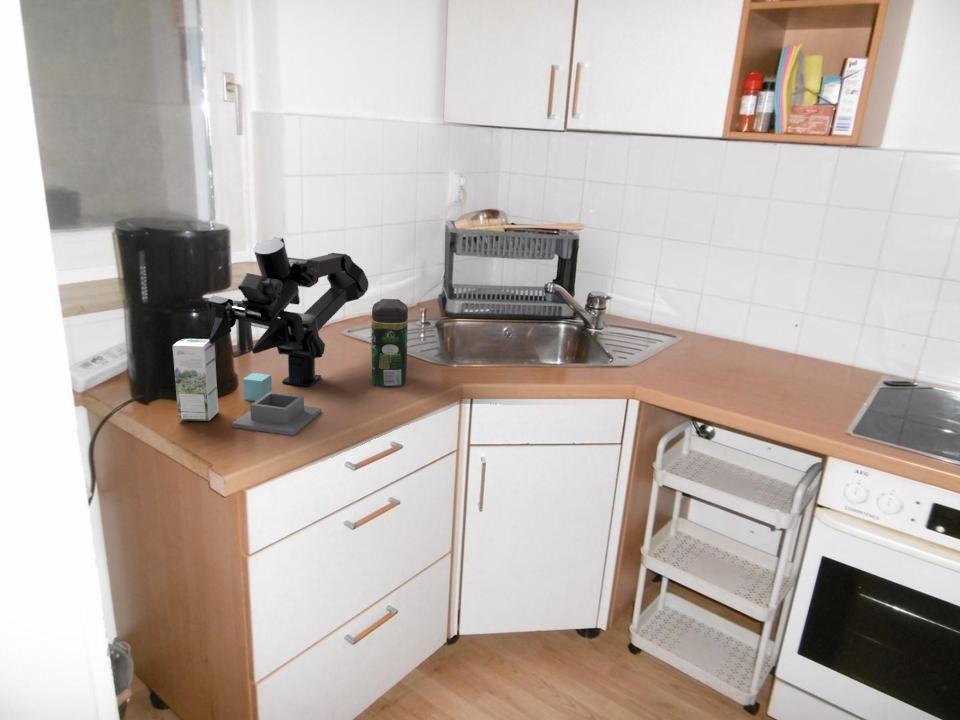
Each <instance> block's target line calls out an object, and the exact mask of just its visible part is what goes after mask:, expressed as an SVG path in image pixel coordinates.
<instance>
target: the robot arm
mask: <svg viewBox="0 0 960 720" xmlns="http://www.w3.org/2000/svg"><path fill="white" fill-rule="evenodd" d="M253 252H254V256H255V258H256V262H257V265H258V268H259V272H260V274H261V275H259V274H254V273H250V272H245V273H244V275H243V277H242V279H241V281H240V283H239V284H238V286H237V289H238V291H240V292H241V293H242V295H243V298H242V299H241V302H242V305H243V306H245V308H243V307H238V306H235V305H234V302H233V299H231V298H227V297H223V296H218V295H212V296H210V297H209V298H208V300H207V301H206V302H205V303H206V307H207V310H208V314H209V313H211V315H212V316H213V317H214V320H215V322H214V325H213V326H212V329H211V333H210V335H209V338H208V339H209V341H210V343H211V344H213V343H214V344H215V343H217V342H219V341H220V340H221V339H223V338H224V337H226V336H227V335H229V334H230V333H231V332H232V329H233V327H234V326H235V325H236V323H237V321H243V322H247V323H249V326H250V327H256V328H259V329H265V330H266V331H265V332H264V333H263V334H262V335H261V336H260V338H259V339H258V340H257V341H256V343H255V344H254V345H253V347H252V348H251V351H252V354H254V355H255V354H259V353H261V352H265V351H267V350H270V349H274V348H276V349H277V351H278V354H279V355H285V356H287V369H288V374H287V375H288V376H287V377H286V378H284V379H282V381H281V383H282V384H286V385H287V384H288V385H294V386H302V387H312V385H314V384H315V383H316V382H318V381H319V380H320V379H321V378H322V375H320V374H316V359H317V358H322V357H323V355H324V353H325V347H326V344H325V342H324V341H323V340H322V338H321V337H320V333H319V332H320V330H321V329H322V328H323V327H324V325H326V323H328V322H329V321H330V320H331V319H332V318H333V317H334V316H335V314H337V313H338V312H339V310H340V309H341V308H342V307H343V306H344V305H345V304H346V303H348V302H352V301H353V302H354V301H358V300H359V299H360V298H362V297H363V296H364V295H365V294H366V293H367V291H369V290H368V289H369V279H368V277H367V275H366V273H365V271H364V270H363V269H362V268H361V267H360V266H359V265H358V264H356V263H355V262H354V261H353V259H352V257H351V256H350V255H348V254H347V253H339V252H338V253H337V252H331V253H328V254H325V255H320V256H316V257H311V258H306V259H304V258H295V257H288V253H287V250H286V244H285V240H284V238H283V237H276V236H275V237H273V238H272V239H268V240H264V241H261V242H257V243H255V245H254V246H253ZM326 276H327V277H326ZM323 277H326V278H327V281H328V282H329V284H330V287H329V289H328V290H327V291H325V293H324V294H322V295H321V296H320V297H319V298H318V299H317V300H316V301H315V302H314V303H313V304H312V305H311V306H309V308H308V309H307V310H306V311H304V313H303V312H302V313H301V312H294V311H288V310H285V309H286V308H287V307H288V306H289V305H290V304H292V305H297V306H298V305H300V303H301V301H300V300H301V299H300V296H299V295H300V294H299V292H300V290H299V287H301V288H312V287H313V286H315V285H316V284H317V283H318V282H319V279H321V278H323Z"/></svg>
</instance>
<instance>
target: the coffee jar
mask: <svg viewBox="0 0 960 720" xmlns="http://www.w3.org/2000/svg"><path fill="white" fill-rule="evenodd" d="M371 309H372V311H371V335H370V336H371V339H370V340H371V347H370V348H371V382H372V384H373V385H374V386H376V387H382V388H385V389H394V388H397V387H403V386H405V384H406V382H407V376H408V371H407V369H408V361H407V359H408V325H409V324H408V322H409V321H408V318H409V315H408V313H409V308H408V306H407V304H406V303H404V301H401V300H400V299H398V298H381V299H380V300H379V301H376V302H375V303H374V304H373V305H372V308H371Z"/></svg>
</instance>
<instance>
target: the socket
mask: <svg viewBox="0 0 960 720" xmlns="http://www.w3.org/2000/svg"><path fill="white" fill-rule="evenodd" d="M249 407H250V410H249V411H247V412H246V413H245V414H243V415H242V416H241V417H239V418H237V419H235V420H234V421H233V422H232V424H231V425H232V428H236V429H244V430H249V431H250V430H251V431H258V432H264V433H265V432H266V433H272V434H277V435H287V436H292V435H293V436H295V435H296V434H298V433H299V432H300V431H301V430H302V429H303V428H304V427H305V426H306V425H308V424H309V423H310V422H311V421H312V420H313V419H314V418H316V417H317V416H318V415H319V414H320V413H321V412H322V407H316V406H309V405H305V396H303V395H297V394H296V395H295V394H289V393H282V392H274V391H272V392H268V393H267V394H265V395H264V396H262V397H261V398H260V399H258V400H257V401H253V402H252V403H251V404H250V406H249ZM293 436H292V437H293Z"/></svg>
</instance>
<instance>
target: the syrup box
mask: <svg viewBox="0 0 960 720" xmlns="http://www.w3.org/2000/svg"><path fill="white" fill-rule="evenodd" d="M215 348H216V347H215V343H213V344H211V343H210V341H209V338H207V339H206V338H202V339H201V338H182V339H180V340H178V341H176V342H175V343H174V344H172V354H173V355H172V357H173V366H174V367H173V369H174V379H175V391H176V392H175V393H176V404H177V417H178V420H179V421H196V422H197V421H202V422H203V421H205V422H206V421H208V422H209V421H210V420H212V419H213V418H214V417H215V416H216V415H217V414H218V413H219V411H220V408H219V399H218V398H219V397H218V385H217V382H218V381H217V368H216V349H215Z"/></svg>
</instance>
